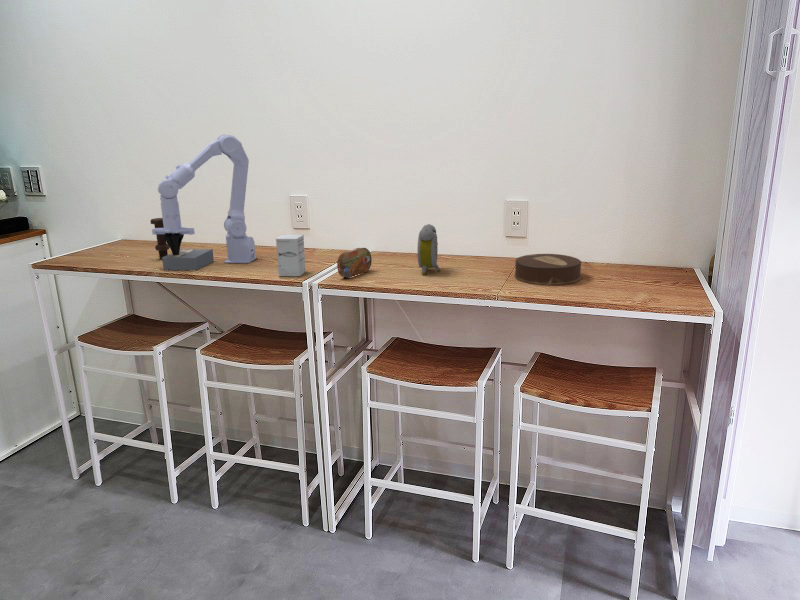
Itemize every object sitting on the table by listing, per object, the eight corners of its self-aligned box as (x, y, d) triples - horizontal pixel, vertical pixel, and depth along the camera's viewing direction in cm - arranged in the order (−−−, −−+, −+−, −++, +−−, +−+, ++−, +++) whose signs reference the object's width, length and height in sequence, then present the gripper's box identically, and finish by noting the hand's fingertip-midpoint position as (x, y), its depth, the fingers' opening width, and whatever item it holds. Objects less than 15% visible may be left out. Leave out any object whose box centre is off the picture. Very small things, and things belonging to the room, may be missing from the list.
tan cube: (185, 265, 222) (184, 253, 221) (180, 268, 219) (178, 256, 217) (175, 265, 223) (173, 253, 222) (169, 268, 219) (168, 256, 218)
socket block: (213, 261, 230) (212, 249, 228) (196, 270, 216) (194, 257, 215) (182, 261, 231) (181, 248, 230) (163, 270, 218) (161, 257, 217)
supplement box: (278, 276, 205) (274, 238, 202) (285, 271, 212) (282, 234, 209) (300, 277, 204) (297, 238, 201) (306, 271, 211) (303, 234, 208)
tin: (343, 280, 198) (342, 254, 196) (336, 279, 200) (334, 253, 198) (372, 270, 210) (371, 245, 208) (365, 269, 212) (364, 244, 210)
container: (502, 274, 201) (502, 255, 199) (553, 267, 209) (554, 249, 207) (539, 290, 184) (540, 269, 182) (594, 282, 191) (596, 262, 189)
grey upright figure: (422, 267, 212) (421, 222, 208) (442, 267, 211) (442, 223, 207) (417, 276, 201) (416, 229, 197) (439, 276, 200) (438, 229, 196)
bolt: (167, 260, 233) (162, 220, 229) (154, 261, 233) (148, 220, 229) (173, 257, 238) (168, 217, 234) (160, 257, 239) (154, 217, 234)
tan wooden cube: (195, 261, 229) (193, 249, 228) (189, 264, 225) (188, 252, 224) (184, 261, 230) (183, 249, 229) (179, 264, 226) (177, 252, 225)
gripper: (145, 217, 213) (150, 257, 217) (185, 217, 211) (190, 257, 215) (155, 214, 220) (161, 252, 224) (195, 214, 218) (199, 253, 221)
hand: (176, 254), depth 220 cm, fingers closed, pressing on tan cube
